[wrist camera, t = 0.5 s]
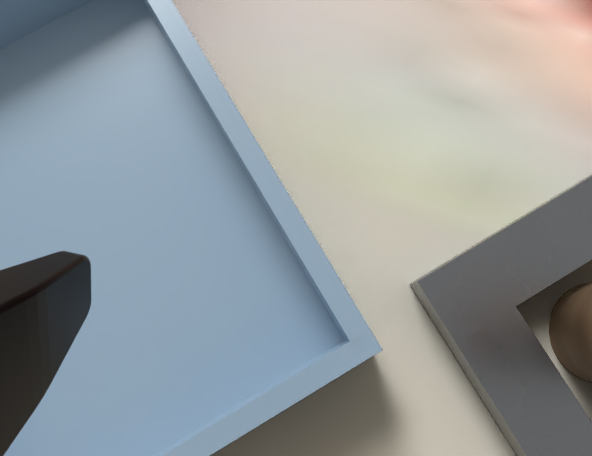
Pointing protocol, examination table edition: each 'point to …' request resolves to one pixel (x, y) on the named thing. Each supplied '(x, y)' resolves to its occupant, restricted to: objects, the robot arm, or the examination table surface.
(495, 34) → the examination table surface
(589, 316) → the pin
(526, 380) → the plate
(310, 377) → the pin tray
